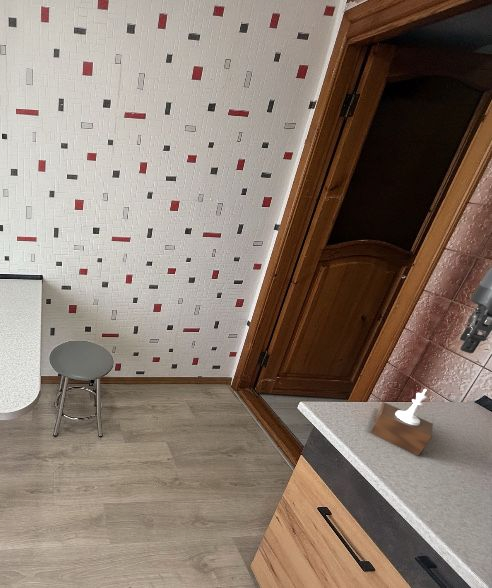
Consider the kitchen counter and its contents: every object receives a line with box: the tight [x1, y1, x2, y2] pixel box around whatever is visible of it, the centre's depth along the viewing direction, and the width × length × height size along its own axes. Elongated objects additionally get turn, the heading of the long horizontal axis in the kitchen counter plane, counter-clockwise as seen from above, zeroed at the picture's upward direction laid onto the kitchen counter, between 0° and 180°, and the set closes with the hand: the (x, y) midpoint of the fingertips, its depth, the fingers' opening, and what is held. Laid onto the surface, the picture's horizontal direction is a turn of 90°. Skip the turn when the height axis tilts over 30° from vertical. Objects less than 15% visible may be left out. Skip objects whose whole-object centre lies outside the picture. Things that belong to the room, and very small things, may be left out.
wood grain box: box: [369, 401, 434, 457], centre depth 93 cm, size 10×14×7 cm
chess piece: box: [395, 388, 428, 426], centre depth 87 cm, size 5×5×10 cm
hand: (465, 346), depth 85 cm, fingers open, 8 cm apart
